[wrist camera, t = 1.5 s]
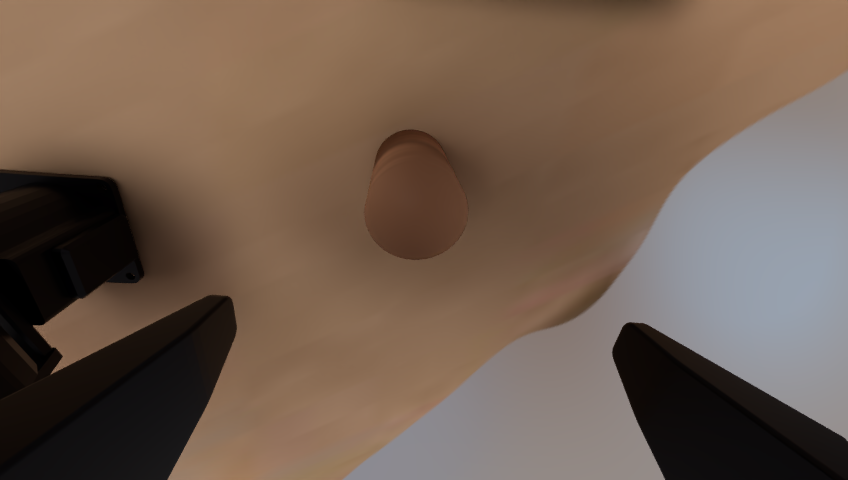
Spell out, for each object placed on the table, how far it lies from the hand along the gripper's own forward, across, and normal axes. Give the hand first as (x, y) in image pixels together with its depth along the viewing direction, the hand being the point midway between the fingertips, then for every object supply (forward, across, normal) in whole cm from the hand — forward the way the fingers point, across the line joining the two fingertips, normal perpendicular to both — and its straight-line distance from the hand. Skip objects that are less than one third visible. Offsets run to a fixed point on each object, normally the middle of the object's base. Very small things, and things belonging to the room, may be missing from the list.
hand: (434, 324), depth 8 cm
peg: (+13, 0, 0) cm, 13 cm away
